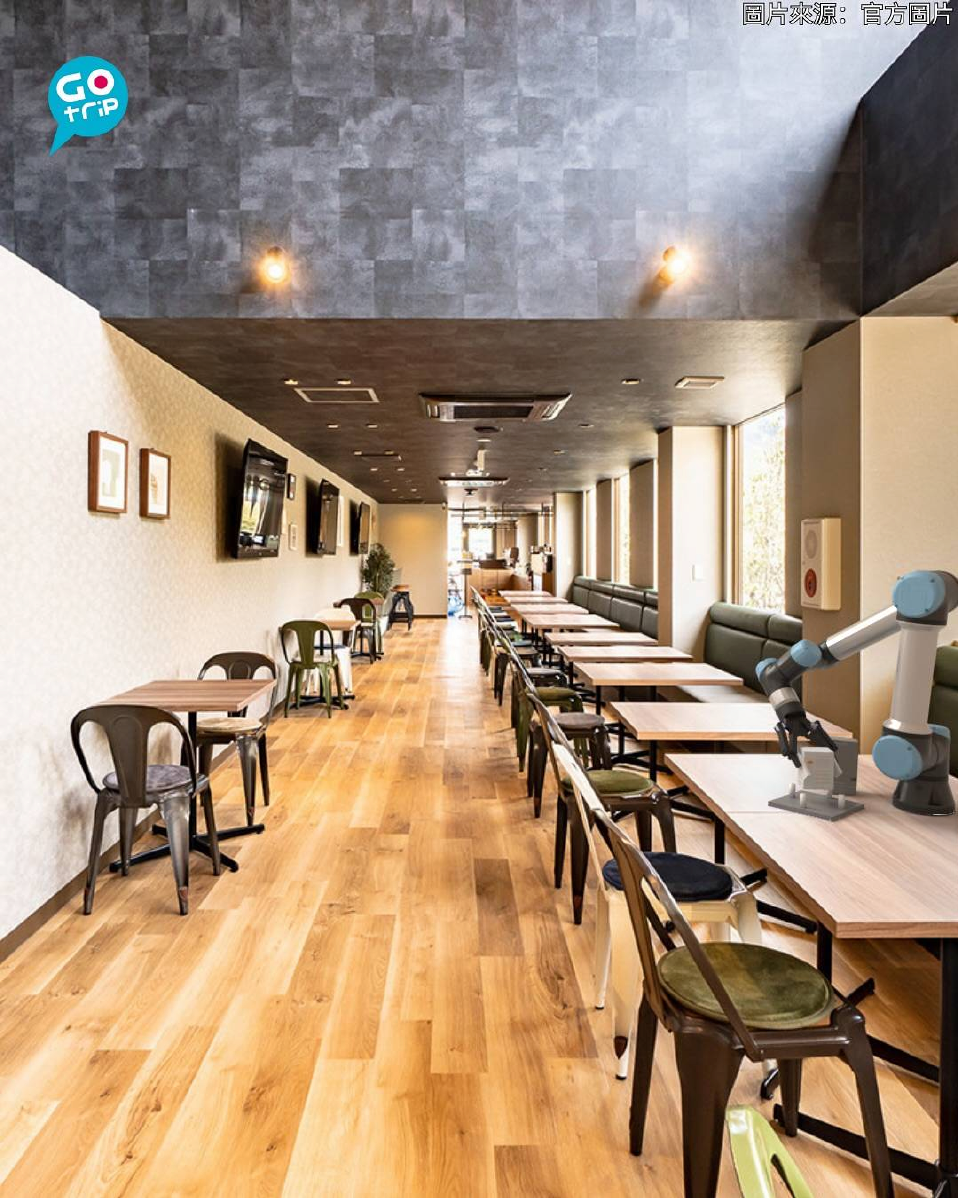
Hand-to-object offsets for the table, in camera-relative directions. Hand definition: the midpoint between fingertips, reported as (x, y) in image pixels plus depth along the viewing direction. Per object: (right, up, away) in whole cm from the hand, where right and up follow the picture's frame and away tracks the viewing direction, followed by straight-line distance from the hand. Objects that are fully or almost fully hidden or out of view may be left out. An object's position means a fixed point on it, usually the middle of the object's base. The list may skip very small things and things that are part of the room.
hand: (823, 776), depth 223 cm
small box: (-1, -4, +3) cm, 5 cm away
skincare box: (+13, -9, +18) cm, 24 cm away
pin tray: (-1, -9, +3) cm, 10 cm away
